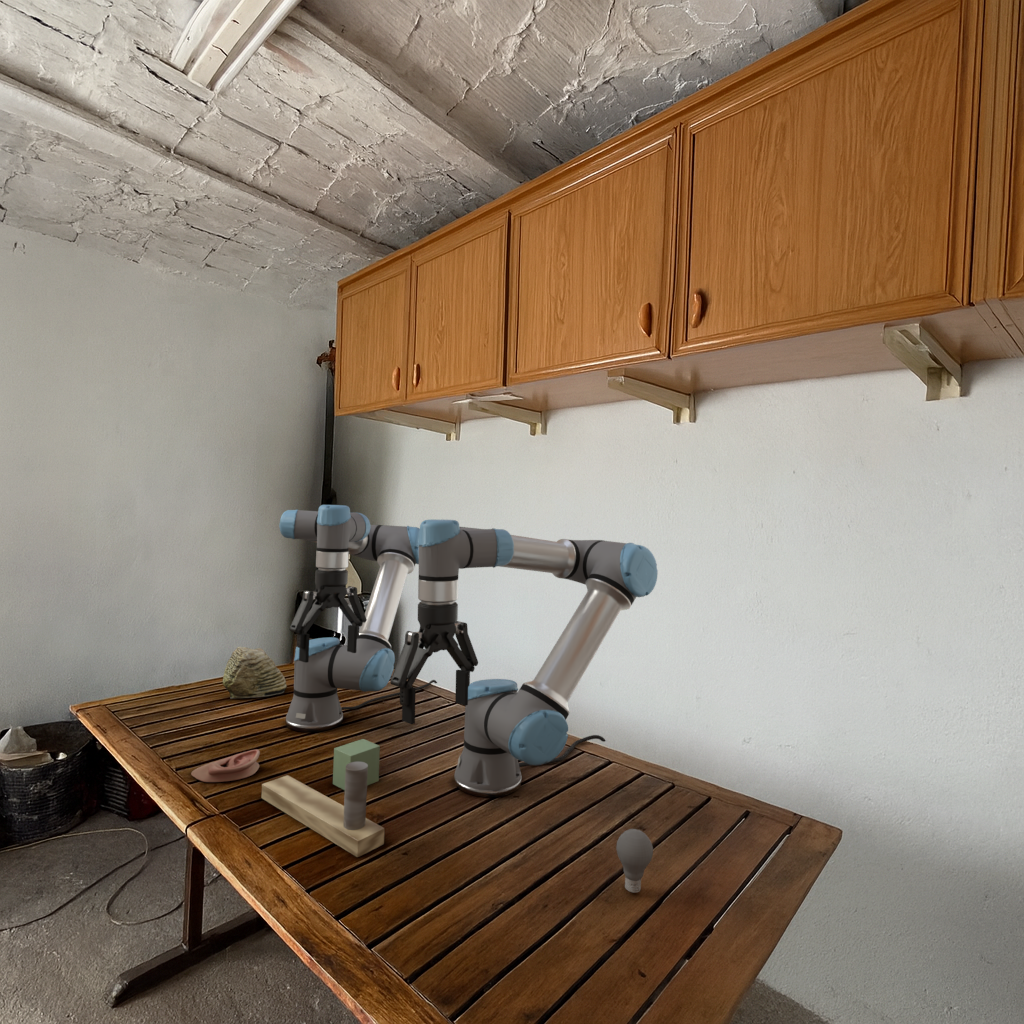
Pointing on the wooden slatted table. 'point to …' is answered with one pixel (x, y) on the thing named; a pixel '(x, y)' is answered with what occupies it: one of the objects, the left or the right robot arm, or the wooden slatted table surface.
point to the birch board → (330, 810)
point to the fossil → (252, 674)
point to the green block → (356, 760)
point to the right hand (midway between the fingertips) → (436, 712)
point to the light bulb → (634, 857)
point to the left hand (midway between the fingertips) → (328, 656)
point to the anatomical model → (229, 768)
